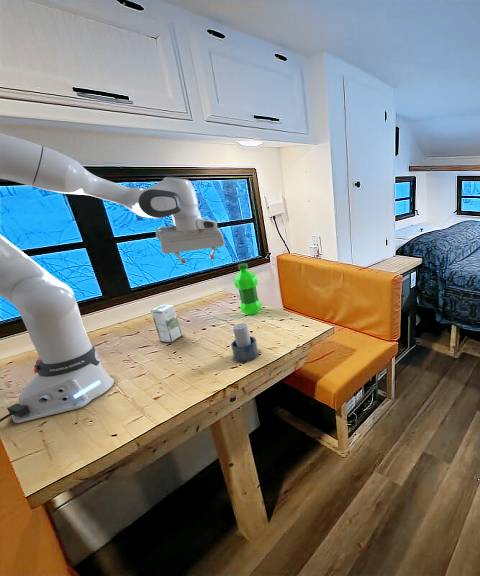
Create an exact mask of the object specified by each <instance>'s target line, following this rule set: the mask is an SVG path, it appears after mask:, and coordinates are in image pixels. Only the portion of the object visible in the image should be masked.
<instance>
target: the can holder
mask: <svg viewBox="0 0 480 576" xmlns="http://www.w3.org/2000/svg"><path fill="white" fill-rule="evenodd" d="M249 336H250V341H251V344H250V345H248V346H245V347H237V344H236V339H235V340H233V341H232V342H231V344H230V348H231V350H232V355H233V358H234V361H235V362H237V363H247V362H250V361H252V360H254V359H256V358H258V355H259V348H258V344H257V339H256V337H255V336H252V335H249Z"/></svg>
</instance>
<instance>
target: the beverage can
mask: <svg viewBox="0 0 480 576" xmlns="http://www.w3.org/2000/svg"><path fill="white" fill-rule="evenodd" d="M232 328H233V329H232V330H233V334H234V339H235V340H236V344H237V347H245V346H248V345H250V344H251V341H250V336H251V335H250V332H249V331H250V330H249V327H248V325H247V324H246V323H238V324H235V325H234V326H233V327H232Z"/></svg>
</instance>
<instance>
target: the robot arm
mask: <svg viewBox="0 0 480 576" xmlns="http://www.w3.org/2000/svg"><path fill="white" fill-rule="evenodd" d="M0 180H6V181H12V182H15V183H19V184H22V185H26V186H29V187H32V188H36V189H41V190H44V191H48V192H52V193H53V192H54V193H59V194H66V195H67V194H68V195H84V196H91V197H94V198H98V199H100V200H104V201H107V202H111V203H114V204H117V205H120V206H122V207H124V208H126V209H128V210H129V211H130V212H131V213H133V214H135V215H137V216H139V217H142V218H150V219H163V218H167V217H170V216H171V218H172V221H173V225H168V226H160V227H159V228H157V229H156V230H155V237H156V238H157V239H158V241H159V243H160V248H161V249H160V250H161V252H162V253H164V254H165V255H169V254H174V255H175V257H176V258H177V259H178V260H180V264H181V265H184V264H187V261H186V258H185V257H181V254H180V253H182V252H191V251H198V250H205V249H210V251H211V253H209V254H208V256H209V260H215V253H216V251H217V249H216V248H219V247H224V246H225V245H226V242H225V238H224V235H223V233H222V231H221V229H219V228H218V223H217V222H216V221H215V220H214V219H208V218H203V217H202V214H201V212H200V210H199V200H198V197H197V193H196V190H195V187H194V185H193V183H192V182H191V181H190V180H189V179H187V178H185V177H179V176H165V177H164V178H163V179H162V180H161V181H159V182H158V183H156V184H154V185H150V186H148V187H129V186H125V185H122V184H120V183H116V182H114V181H111V180H108V179H105V178H102V177H99V176H97V175H95V174H93V173H91V172H90V171H89V170H87V169H86V168H85V167H84V166H83V165H82V164H81V163H80V162H79V161H78V160H76V159H74V158H72V157H70V156H68V155H66V154H64V153H61V152H60V151H57V150H55V149H52V148H50V147H47V146H44V145H41V144H39V143H35V142H32V141H30V140H26V139H23V138H20V137H16V136H12V135H8V134H5V133H0ZM0 297H1V298H3V299H4V300H6V301H8V302H9V303H11V304H12V306H14V308H16V310H17V311H18V313H19V315H20V317H21V319H22V322H23V324H24V326H25V329H26V331H27V333H28V335H29V339H30V340H31V343H32V345H33V346H34V349H35V351H36V353H37V355H38V356H39V357H38V358H37V359H36V361H35V364H34V368H33V373H34V374H35V376H34V377H33V378H32V379H31V380H30V381H29V382H28V383H27V384H26V385H25V386H24V387H23V388H22V390H21V391H20V393H19V396H18V403H17V402H16V403H14V404H12V405H10V406H7V407H6V410H7V411H8V414H6V415H5V416H3V417H1V418H0V423H1V422H3V421H4V420H6V419H9V418H10V417H11V419H12V421H13V422H14V423H15V424H21V423H25V422H29V421H33V420H38V419H41V418H45V417H50V416H53V415H57V414H61V413H65V412H70V411H74V410H78V409H81V408H83V407H84V406H87V404H89V403H90V402H91V401H92V400H94V399H96V398H98V397H100V396H101V395H103V394H105V393H106V392H107V391H109V389H111V388H112V386H113V385H114V383H115V380H114V378H112V376H111V375H110V374H109V373H108V372H107V371H106V369H105V368H104V367H103V365H102V364H101V359H100V355H99V353H98V350H97V349H96V347H95V346H94V345H93V344H92V343H91V340H90V338H89V336H88V334H87V331H86V328H85V326H84V323H83V320H82V316H81V312H80V308H79V304H78V302H77V299H76V296H75V293H74V291H73V289H72V288H71V287H70V286H69V285H67V284H66V283H64V282H63V281H61V280H59V279H57V278H56V277H55V276H53V274H51V273H49V271H47V270H46V269H44V268H43V267H42V266H40V264H38V263H37V262H36V261H35V260H33V259H32V258H31V257H29V256H28V255H27V254H26V253H24V251H22V250H21V249H20V248H19V247H17V246H16V245H14V243H12V242H11V241H9V240H8V238H6V237H4V236H3V235H2V234H0Z"/></svg>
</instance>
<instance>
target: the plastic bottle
mask: <svg viewBox="0 0 480 576" xmlns="http://www.w3.org/2000/svg"><path fill="white" fill-rule="evenodd" d="M237 268H238V270H239V272H238V273H237V274H236V275H235V277H234V279H233V283H234V287H235V288H236V289H238V293H239V298H240V304H239V307H240V311H241V313H244V314H246V315H248V316H251V315H252V316H253V315H255V314H258V312H259V311H260V310H261V308H262V302H261V300H260V299H259V297H258V292H257V286H258V277H257V275H256V274H255V273H253V272H251V271H249V270H248V269H249V266H248V263H247V262H242V263H238V264H237Z"/></svg>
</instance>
